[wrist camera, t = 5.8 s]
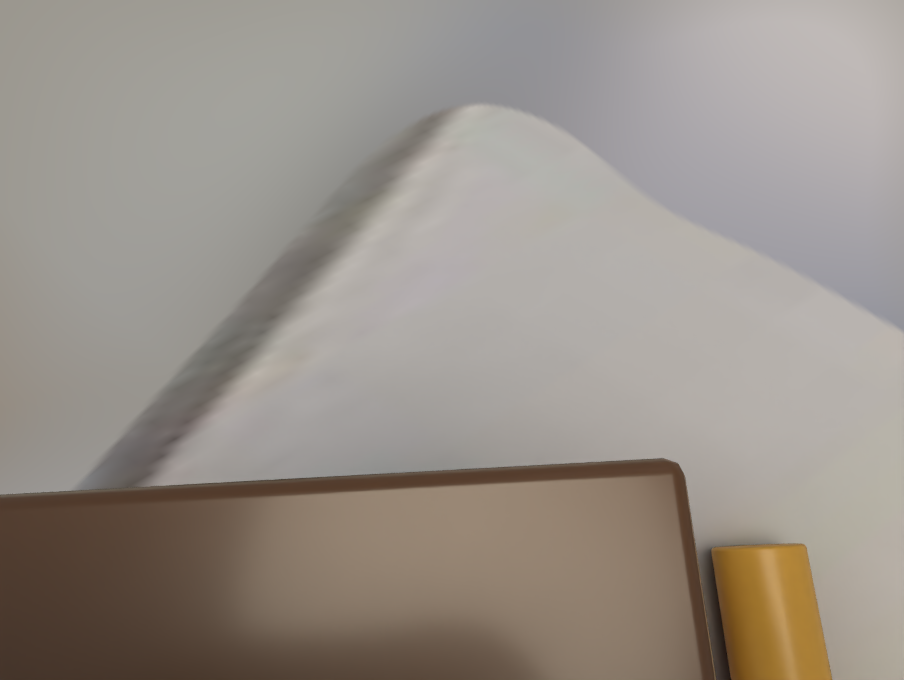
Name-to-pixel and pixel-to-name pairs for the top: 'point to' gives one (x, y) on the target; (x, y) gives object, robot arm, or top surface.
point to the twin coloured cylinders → (770, 613)
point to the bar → (360, 578)
